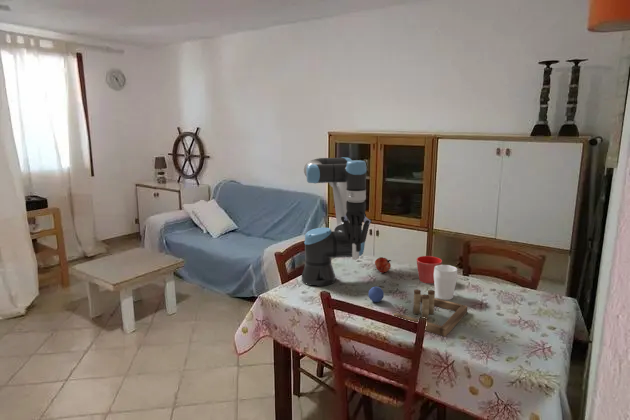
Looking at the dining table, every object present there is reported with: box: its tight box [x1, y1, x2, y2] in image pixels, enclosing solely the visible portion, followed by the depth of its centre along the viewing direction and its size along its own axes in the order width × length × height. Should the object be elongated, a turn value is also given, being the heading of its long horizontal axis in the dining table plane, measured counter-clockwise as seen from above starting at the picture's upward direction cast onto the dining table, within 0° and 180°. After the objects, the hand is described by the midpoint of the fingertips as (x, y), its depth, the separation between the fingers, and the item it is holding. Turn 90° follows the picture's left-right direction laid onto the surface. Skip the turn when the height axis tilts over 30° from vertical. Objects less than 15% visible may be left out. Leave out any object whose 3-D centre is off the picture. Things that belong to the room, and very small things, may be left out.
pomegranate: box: [374, 256, 392, 274], centre depth 196 cm, size 7×7×10 cm
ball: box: [368, 286, 385, 303], centre depth 164 cm, size 6×6×6 cm
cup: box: [433, 264, 458, 301], centre depth 167 cm, size 9×9×12 cm
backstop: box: [392, 294, 468, 338], centre depth 151 cm, size 19×22×2 cm
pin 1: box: [421, 293, 430, 321], centre depth 149 cm, size 2×2×9 cm
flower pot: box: [416, 255, 443, 284], centre depth 184 cm, size 11×11×10 cm
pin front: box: [412, 289, 422, 315], centre depth 154 cm, size 2×2×9 cm
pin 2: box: [427, 289, 436, 315], centre depth 153 cm, size 2×2×9 cm
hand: (355, 258), depth 167 cm, fingers closed
